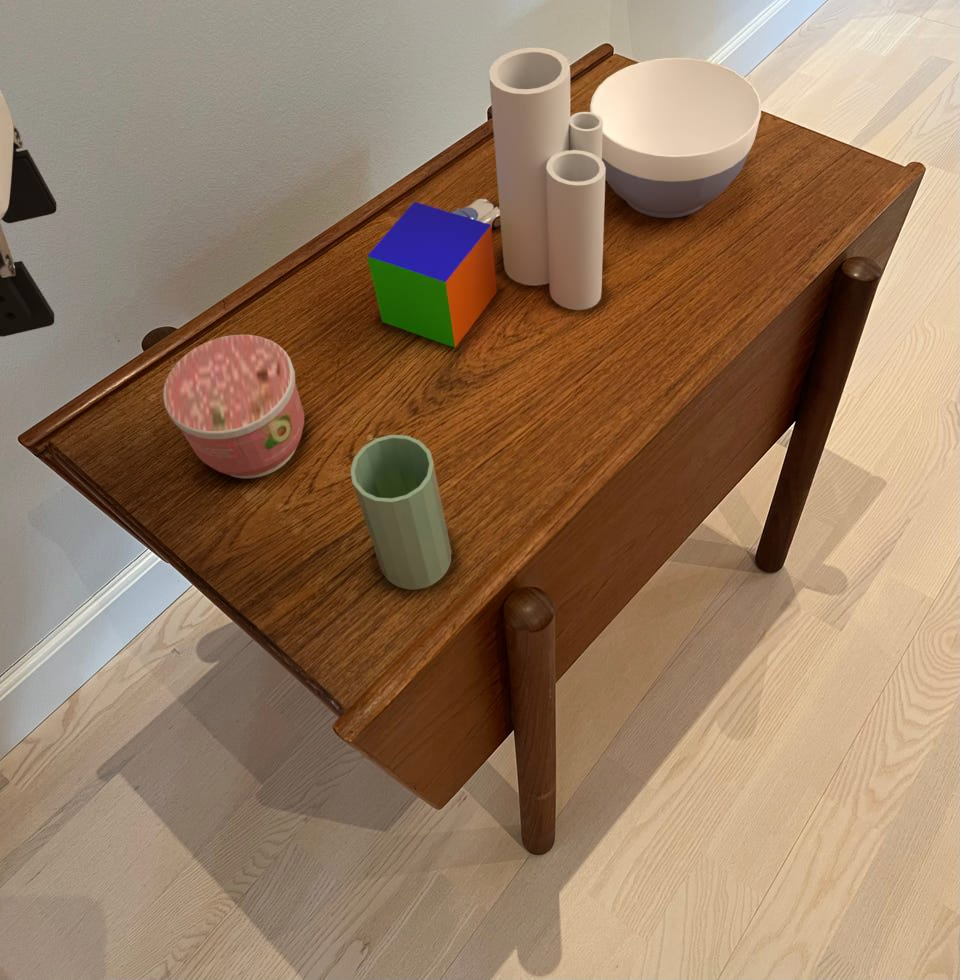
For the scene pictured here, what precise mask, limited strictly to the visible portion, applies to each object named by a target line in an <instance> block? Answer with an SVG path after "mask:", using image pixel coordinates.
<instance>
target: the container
mask: <svg viewBox="0 0 960 980" xmlns="http://www.w3.org/2000/svg"><path fill="white" fill-rule="evenodd" d="M165 380H166V381H165V382H164V386H163V392H162V394H163V395H162V398H163V405H164V408H165V410H166V411H167V414H168V415H169V418H170V419H171V421H172V422H173V423H174V424H175V425H176V426H177V428H179V429H180V431H181V432H182V434H183V435H184V437H185V439H186V440H187V442H188V444H189V445H190V447H191V449H192V450H193V451H194V454H195V455H196V456H197V457H198V458H199V460H201V462H202V463H204V464H206V465H207V466H208V467H210V468H212V469H214V470H215V471H217V472H219V473H222V474H225V475H227V476H231V477H233V478H237V479H238V478H239V479H255V478H262V477H264V476H268V475H270V474H272V473H274V472H276V471H277V470H278V469H280V468H282V467H283V466H285V464H286V463H287V462H288V461H290V460H291V458H292V456H293V455H294V454H295V452H296V450H297V447H298V445H299V443H300V441H301V439H302V435H303V430H304V425H305V411H304V408H303V404H302V402H301V397H300V393H299V391H298V386H297V384H296V371H295V368H294V365H293V362H292V360H291V357H290V356H289V355H288V353H287V352H286V351H285V349H283V348H282V347H281V346H280V345H279V344H278V343H276V342H275V341H272V340H270V339H268V338H266V337H262V336H258V335H252V334H232V335H225V336H220V337H217V338H214V339H210V340H209V341H207V342H204V343H202V344H200V345H198V346H196V347H195V348H193V349H191V350H189V352H187V353H186V354H185V355H184V356H183V357H181V358H180V359H179V360H178V361H177V362H176V364H174V366H173V367H172V369H171V370H170V372H169V373H168V375H167V377H166V379H165Z"/></svg>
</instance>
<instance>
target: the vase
mask: <svg viewBox="0 0 960 980" xmlns="http://www.w3.org/2000/svg"><path fill="white" fill-rule="evenodd" d="M488 79H489V90H490V91H489V92H490V105H491V116H492V117H491V118H492V130H493V142H494V155H495V156H494V157H495V168H496V182H497V193H498V208H499V209H500V221H501V226H500V232H501V233H500V234H501V245H502V257H503V268H504V271H505V273H506V274H507V276H508V277H509V278H510V279H511V280H513V281H514V282H516V283H519V284H521V285H524V286H543V285H544V286H545V285H548V286H549V294H550V298H551V299H552V300H553V302H555V303H556V304H557V305H559V306H560V307H562V308H565V309H568V310H574V311H582V310H583V311H584V310H588V309H591V308H593V307H595V306H597V304H598V303H599V302H600V300H601V299H602V290H603V263H604V262H603V259H604V258H603V257H604V253H603V252H604V231H605V229H604V228H605V227H604V226H605V199H606V197H605V196H606V194H605V193H606V179H605V172H606V168H605V165H604V162H603V161H602V135H603V121H602V118H601V117H600V116H598V115H597V114H594V113H591V112H590V111H580V112H579V111H578V112H576V113H574V114H572V115H571V65H570V61H569V60H568V59H567V58H566V56H565V55H564V54H562V53H560V52H558V51H556V50H554V49H549V48H545V47H525V48H519V49H515V50H512V51H509V52H507V53H504V54H503V55H501V56H500V57H498V58H497V59H496V60H495V61H494V62H493V63H492V64H491V66H490V69H489V71H488Z"/></svg>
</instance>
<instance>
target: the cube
mask: <svg viewBox="0 0 960 980" xmlns="http://www.w3.org/2000/svg"><path fill="white" fill-rule="evenodd" d="M492 230H493V228H492V229H491V225H490V224H487V223H483V222H480V221H477V220H473V219H470V218H467V217H463V216H460V215H457V214H454V213H452V212H450V211H447V210H443V209H440V208H437V207H434V206H430V205H427V204H425V203H421V202H417V201H413V203H411V205H410V206H409V207H408V208H407V209H406V210H405V212H404V213H403V214H402V215H401V216H400V218H399V219H398V220H396V222H395V223H394V224H393V225H392V227H391V228H390V229H389V230H388V231H387V232H386V234H384V236H383V237H382V238H381V239H380V241H379V242H378V243H376V245H375V246H374V248H373V249H372V250H371V251H370V252H369V253H368V254H367V255H366V258H367V262H368V266H369V271H370V275H371V279H372V285H373V289H374V292H375V297H376V301H377V305H378V309H379V314H380V319H381V322H382V323H385V324H387V325H389V326H393V327H394V328H395V327H396V328H398V329H401V330H404V331H407V332H409V333H411V334H415V335H417V336H420V337H423V338H426V339H429V340H431V341H435V342H437V343H440V344H443V345H446V346H449V347H452V348H454V349H456V348H457V347H458V345H459V344H460V343H461V341H462V340H463V338H464V337H465V336H466V334H468V332H469V330H470V329H471V328H472V326H473V325H474V324H475V322H476V321H477V319H478V318H479V317H480V316H481V314H482V313H483V312H484V310H485V309H486V308H487V306H488V305H489V304H490V302H491V301H492V300H493V298H494V297H495V296H496V294H497V293H498V289H497V288H498V286H497V276H496V266H495V254H494V242H493V231H492Z"/></svg>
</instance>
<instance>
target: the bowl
mask: <svg viewBox="0 0 960 980" xmlns="http://www.w3.org/2000/svg"><path fill="white" fill-rule="evenodd" d="M589 112H591V113H594V114H597V115H598V116H600V117H601V118H602V121H603V135H602V161H603V162H604V165H605V168H606V172H605V181H607V184H608V185H609V187H610V188H611V189H612V191H613V192H614V193H615V194H616V195H617V196H619V197H620V198H621V200H624V201H625V202H626V203H627V205H629V207H631V208H632V209H633V210H635V211H636V212H639V213H640V214H642V215H643V214H644V215H646V216H650V217H654V218H659V219H660V218H661V219H672V218H673V219H674V218H680V217H686V216H688V215H691V214H693V213H695V212H697V211H699V210H700V209H702V208H703V207H704V206H705V205H706V204H709V203H710V202H712V201H715V199H717V198H718V197H719V196H720V195H722V194H723V193H724V192H725V190H726V189H727V188H728V187H729V186H730V185H731V184H732V182H734V180H735V179H736V178H737V177H738V175H739V174H740V173H741V172H742V170H743V168H744V166H745V163H746V161H747V159H748V156H749V154H750V151H751V149H752V147H753V145H754V142H755V140H756V137H757V136H756V135H757V131H758V129H759V126H760V125H759V124H760V120H761V116H762V103H761V99H760V95H759V93H758V91H757V89H755V86H754V85H753V84H752V83H751V82H750V81H749V80H748V79H747V78H746V77H744V76H743V75H741V74H739V73H738V72H736V71H735V70H733V69H731V68H728V67H726V66H725V65H722V64H719V63H715V62H711V61H708V60H702V59H696V58H688V57H687V58H685V57H666V58H655V59H650V60H649V59H648V60H644V61H640V62H638V63H634V64H631V65H629V66H625V67H624V68H621V69H619V70H617V71H615V72H614V73H612V74H611V75H610V76H608V77H607V78H605V79H604V80H603V81H602V82H601V83H600V84H599V85H598V87H597V88H596V89H595V91H594V93H593V94H592V96H591V100H590V103H589Z"/></svg>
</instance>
